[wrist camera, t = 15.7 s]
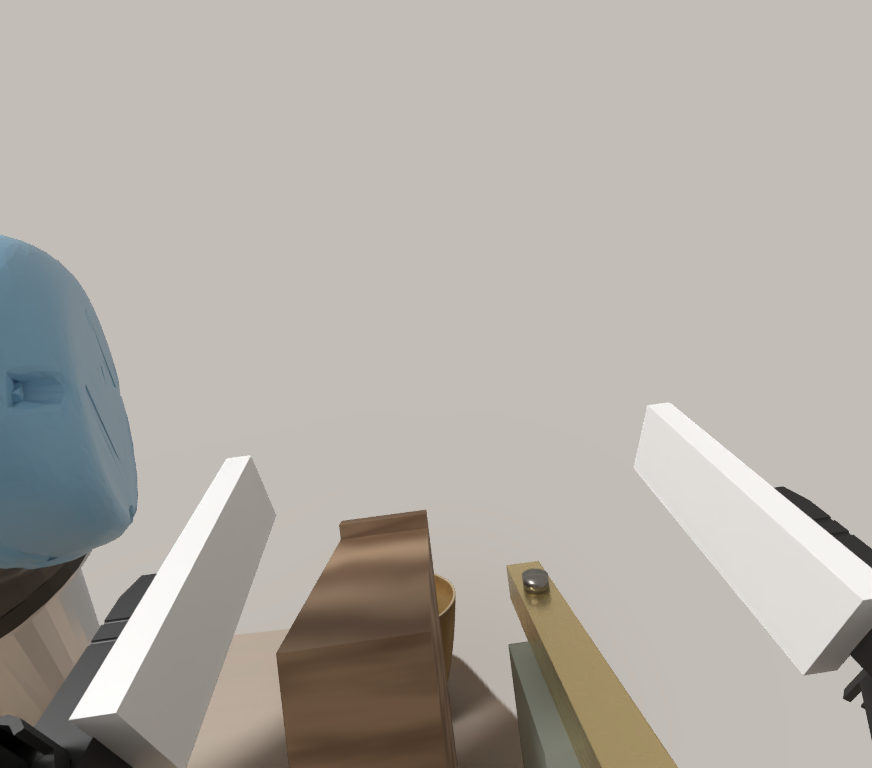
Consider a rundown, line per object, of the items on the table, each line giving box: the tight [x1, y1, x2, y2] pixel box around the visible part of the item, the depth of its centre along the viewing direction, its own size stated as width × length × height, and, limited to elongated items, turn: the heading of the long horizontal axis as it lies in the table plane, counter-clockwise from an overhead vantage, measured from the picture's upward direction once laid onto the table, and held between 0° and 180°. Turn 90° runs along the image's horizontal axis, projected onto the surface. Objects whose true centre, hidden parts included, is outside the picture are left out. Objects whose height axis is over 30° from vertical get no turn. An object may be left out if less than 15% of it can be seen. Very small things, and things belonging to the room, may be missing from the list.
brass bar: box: [507, 561, 678, 768], centre depth 27 cm, size 26×4×5 cm, turn 2°
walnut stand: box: [276, 510, 458, 768], centre depth 31 cm, size 20×12×32 cm, turn 2°
